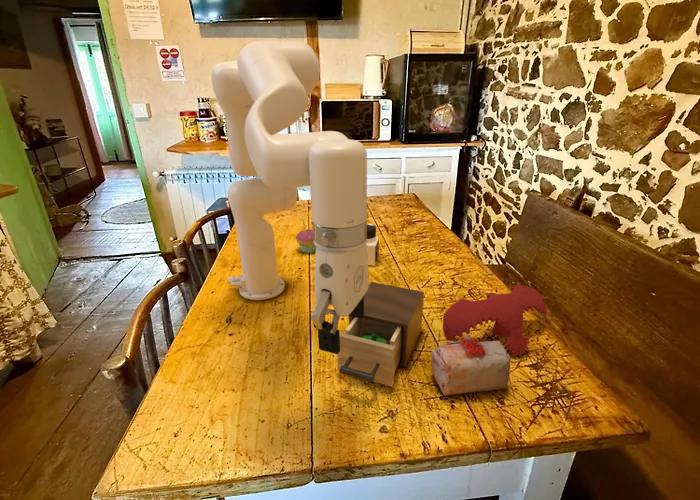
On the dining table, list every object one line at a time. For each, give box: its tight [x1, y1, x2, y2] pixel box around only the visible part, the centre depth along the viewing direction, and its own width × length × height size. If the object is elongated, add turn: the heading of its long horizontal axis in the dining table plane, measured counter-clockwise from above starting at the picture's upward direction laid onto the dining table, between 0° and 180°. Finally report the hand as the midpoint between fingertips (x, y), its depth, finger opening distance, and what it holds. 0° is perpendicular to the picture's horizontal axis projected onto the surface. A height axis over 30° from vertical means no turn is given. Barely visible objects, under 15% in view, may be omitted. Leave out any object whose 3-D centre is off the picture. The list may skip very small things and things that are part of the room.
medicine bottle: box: [366, 223, 380, 267], centre depth 125 cm, size 7×7×12 cm
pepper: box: [361, 334, 386, 344], centre depth 80 cm, size 5×5×5 cm
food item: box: [430, 333, 511, 397], centre depth 75 cm, size 14×8×10 cm, turn 97°
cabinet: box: [348, 281, 425, 368], centre depth 88 cm, size 14×13×11 cm
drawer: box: [337, 317, 404, 387], centre depth 79 cm, size 17×11×9 cm
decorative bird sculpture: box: [442, 284, 548, 358], centre depth 88 cm, size 28×9×15 cm
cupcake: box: [295, 216, 316, 254], centre depth 133 cm, size 9×8×12 cm
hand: (342, 332), depth 62 cm, fingers open, 9 cm apart
